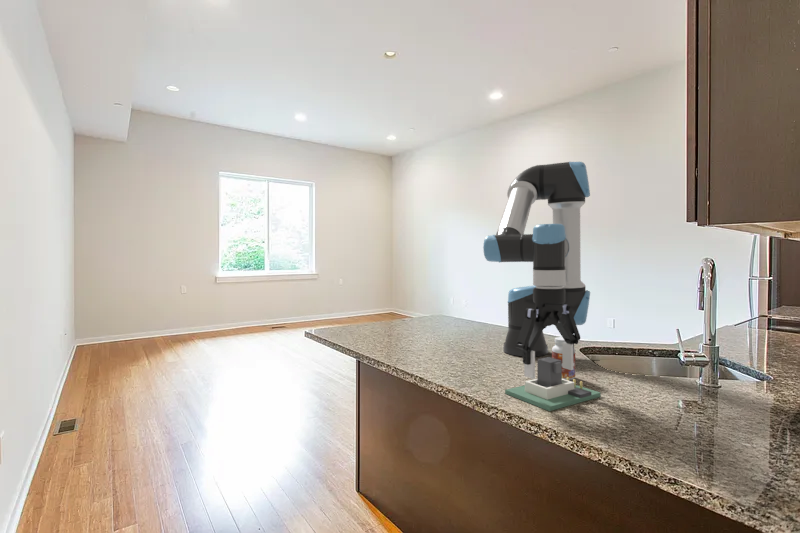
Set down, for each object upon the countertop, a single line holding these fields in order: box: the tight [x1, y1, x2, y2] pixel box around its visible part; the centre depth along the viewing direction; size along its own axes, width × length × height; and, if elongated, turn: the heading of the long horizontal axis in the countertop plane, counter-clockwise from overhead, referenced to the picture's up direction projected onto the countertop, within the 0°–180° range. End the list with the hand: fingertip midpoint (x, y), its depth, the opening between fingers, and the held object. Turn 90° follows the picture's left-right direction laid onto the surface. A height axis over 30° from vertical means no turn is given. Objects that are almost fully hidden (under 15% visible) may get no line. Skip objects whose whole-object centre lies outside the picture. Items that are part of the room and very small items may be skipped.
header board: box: [504, 376, 602, 412], centre depth 106 cm, size 18×14×4 cm
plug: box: [536, 356, 562, 388], centre depth 105 cm, size 4×5×8 cm
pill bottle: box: [551, 336, 576, 381], centre depth 121 cm, size 6×6×11 cm
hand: (549, 373), depth 106 cm, fingers open, 13 cm apart
